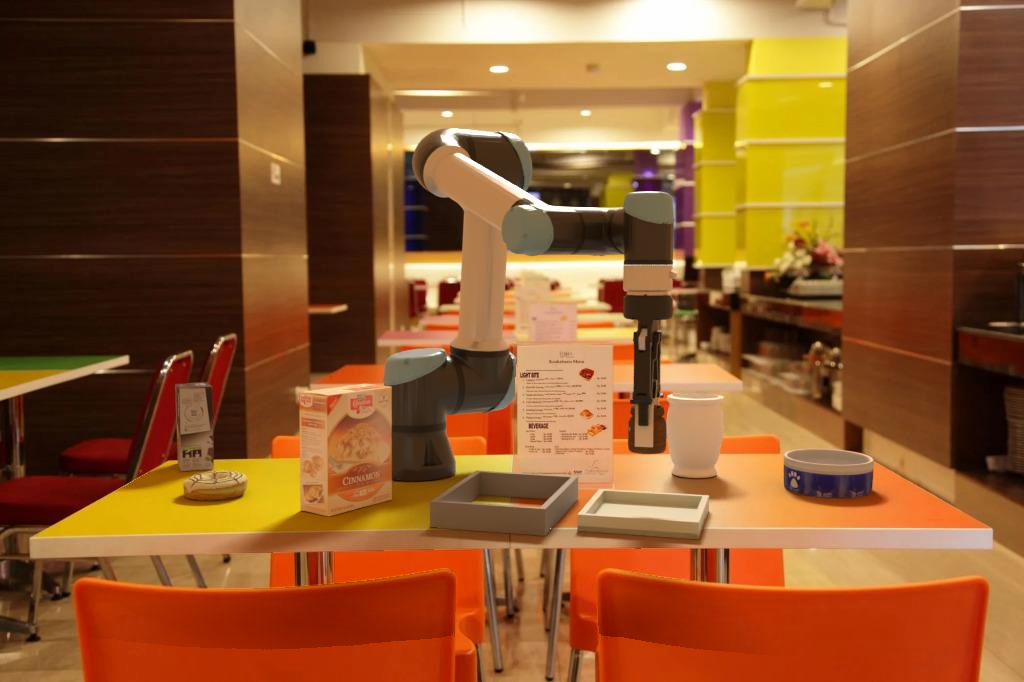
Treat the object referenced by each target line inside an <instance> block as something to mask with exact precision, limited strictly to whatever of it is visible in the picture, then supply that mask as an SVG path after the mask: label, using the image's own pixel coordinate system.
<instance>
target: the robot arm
mask: <svg viewBox="0 0 1024 682" xmlns="http://www.w3.org/2000/svg"><path fill="white" fill-rule="evenodd" d="M411 162H412V163H411V165H412V171H413V174H414V177H415V178H416V180H417V182H418V183H419V185H421V186H422V187H423V188H424V189H425V190H426V191H427V192H429V193H431V194H433V195H434V196H436V197H439V198H449V199H451V200H452V201H454V202H455V203H457V204H458V205H459V206H460V207H461V208H462V210H463V226H462V228H463V229H462V231H463V233H462V248H461V250H462V251H461V270H460V271H461V273H460V288H459V289H460V290H459V294H460V295H459V312H458V313H459V314H458V315H459V316H458V328H457V329H458V330H457V331H458V332H457V333H458V334H457V335H456V337H454V338H453V339H452V340H451V341H450V343H449V354H447V352H446V350H445V349H444V348H441V347H427V348H426V347H425V348H414V349H408V350H403V351H399V352H396V353H393V354H392V355H390V356H388V357H387V358H386V360H385V362H384V371H383V372H384V373H383V377H382V378H383V379H382V383H383V385H384V386H390V387H392V481H403V482H404V481H407V482H409V481H410V482H411V481H412V482H414V481H415V482H417V481H418V482H419V481H432V480H440V479H445V478H448V477H451V476H454V475H455V474H456V473H457V466H456V465H457V464H456V463H457V462H456V458H455V455H454V451H453V448H452V446H451V442H450V439H449V437H448V434H447V416H454V415H465V414H475V413H482V414H487V413H491V412H493V411H494V412H495V411H501V410H504V409H505V408H507V407H509V405H510V404H511V403H512V402H513V401H514V400H515V399H516V396H515V377H516V359H517V357H516V356H515V355H514V354H513V353H512V352H511V351H510V348H511V347H510V344H509V343H508V342H507V341H506V339H504V336H503V331H504V313H505V311H504V310H505V295H506V293H505V292H506V277H507V276H506V275H507V260H508V251H509V252H510V253H513V254H516V255H524V256H528V257H534V256H573V255H574V256H591V257H593V256H595V257H596V256H598V257H599V256H600V257H604V256H615V255H620V256H621V255H623V259H624V260H623V267H622V268H623V269H622V270H623V277H622V278H623V279H622V281H623V283H622V285H623V286H622V289H623V291H624V292H626V294H625V296H623V314H622V315H623V318H624V319H626V320H631V321H632V320H633V321H635V320H636V321H637V330H636V331H633V336H632V342H633V391H632V392H633V395H632V399H629V404H630V405H635V447H653V409H654V405H660V400H659V399H663V398H664V396H665V395H664V393H665V392H662V391H661V392H660V384H661V355H662V345H661V344H662V340H663V331H662V330H659V323H658V322H659V321H665V320H666V321H667V320H670V319H672V318H673V315H674V314H673V313H674V312H673V311H674V309H673V308H674V298H673V297H672V294H669V292H672V291H673V284H674V282H673V281H674V280H673V279H676V278H677V277H678V274H677V271H673V268H674V267H673V265H674V261H673V260H674V234H675V233H674V228H675V226H674V225H675V221H676V220H675V219H676V218H675V214H674V212H675V211H674V199H673V196H672V195H671V194H670V193H669V192H665V191H664V192H663V191H633V192H632V191H631V192H628V193H627V194H625V196H624V198H623V199H624V201H623V206H622V207H585V206H584V207H583V206H582V207H581V206H579V207H578V206H561V205H559V206H558V205H557V206H556V205H549V204H547V203H546V202H544V201H542V200H540V199H538V198H536V197H535V196H534V195H531V194H530V193H528V192H527V190H528V189H529V185H531V181H532V180H533V179H532V177H533V162H532V156H531V154H530V150H529V148H528V147H527V145H526V144H525V141H524V140H523V139H522V138H521V137H520V136H518V135H517V134H514V133H508V132H503V131H498V130H494V131H493V130H480V129H465V128H464V129H463V128H462V129H461V128H456V127H446V128H445V127H444V128H440V129H436V130H434V131H431V132H429V133H428V134H426V135H425V136H424V137H422V138H421V140H420V141H419V142H418V144H417V145H416V147H415V148H414V151H413V154H412V160H411ZM657 380H658V381H659V382H660V383H659V382H658V381H657ZM656 381H657V388H656ZM660 393H661V395H660ZM656 395H657V397H656V398H655V396H656ZM659 397H660V398H659ZM658 400H659V402H658ZM654 401H656V402H655V403H654ZM657 403H658V404H657Z"/></svg>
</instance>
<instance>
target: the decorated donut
mask: <svg viewBox="0 0 1024 682" xmlns="http://www.w3.org/2000/svg"><path fill="white" fill-rule="evenodd" d="M248 483H249V482H248V478H247V476H246V474H244V473H242V472H239V471H235V470H213V471H205V472H201V473H196V474H194V475H192V476H190V477H188V478H187V479H185V480H184V481H183V483H182V485H183V495H184V497H185V498H186V499H189V500H196V501H200V502H204V501H205V502H206V501H210V502H211V501H215V500H216V501H224V500H230V499H236V498H240V497H241V496H242V495H244V493H245V492H246V490H247V488H248V486H249V485H248Z"/></svg>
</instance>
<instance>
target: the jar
mask: <svg viewBox="0 0 1024 682" xmlns="http://www.w3.org/2000/svg"><path fill="white" fill-rule="evenodd" d="M724 398H725V397H724V396H723V395H719V394H715V393H714V394H713V393H707V392H706V393H705V392H679V393H678V392H676V393H671V394H668V395H666V400H667V403H669V405H668V406H669V407H668V410H667V416H666V429H667V432H666V441H667V444H668V454H669V456H670V458H671V462H672V464H673V468H671V471H670V472H671V474H673V475H674V476H677V477H679V478H685V479H686V478H687V479H707V478H713V477H715V476H717V475H718V471H717V469H716V468H715V465H716V464H717V462H718V461H719V457H720V454H721V449H722V448H721V447H722V442H723V439H724V438H723V437H724V424H725V423H724V415H723V410H722V407H721V406H722V404H723V403H724V401H725V400H724Z"/></svg>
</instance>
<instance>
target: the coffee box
mask: <svg viewBox="0 0 1024 682" xmlns="http://www.w3.org/2000/svg"><path fill="white" fill-rule="evenodd" d="M174 385H175V387H174V388H175V415H176V416H175V421H176V444H177V445H176V447H177V448H176V449H177V450H176V451H177V453H176V454H177V455H176V456H177V465H178V467H179V469H180V471H181V472H189V471H204V470H205V471H206V470H209V471H210V470H213V469H215V466H214V465H215V464H214V463H215V462H214V461H215V459H214V458H215V457H214V454H215V453H214V405H213V404H214V403H213V402H214V401H213V399H214V397H213V396H214V395H213V392H214V391H213V388H214V387H213V386H212V385H211V384H210V383H209V382H206V381H205V382H204V381H203V382H189V383H188V382H187V383H175V384H174Z"/></svg>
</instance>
